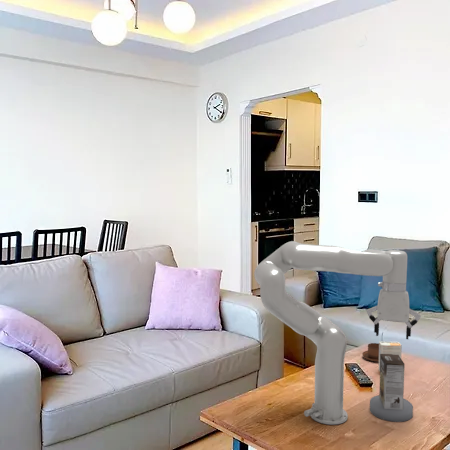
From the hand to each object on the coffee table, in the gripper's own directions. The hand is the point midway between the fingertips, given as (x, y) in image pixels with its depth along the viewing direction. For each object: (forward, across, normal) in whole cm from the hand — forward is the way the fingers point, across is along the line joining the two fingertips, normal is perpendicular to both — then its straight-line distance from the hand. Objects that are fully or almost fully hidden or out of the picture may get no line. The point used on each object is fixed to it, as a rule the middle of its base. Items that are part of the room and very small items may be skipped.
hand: (392, 336), depth 166 cm
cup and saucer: (+27, -8, +52) cm, 59 cm away
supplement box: (+27, -1, +36) cm, 45 cm away
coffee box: (+24, 0, 0) cm, 24 cm away
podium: (+27, +1, 0) cm, 27 cm away
